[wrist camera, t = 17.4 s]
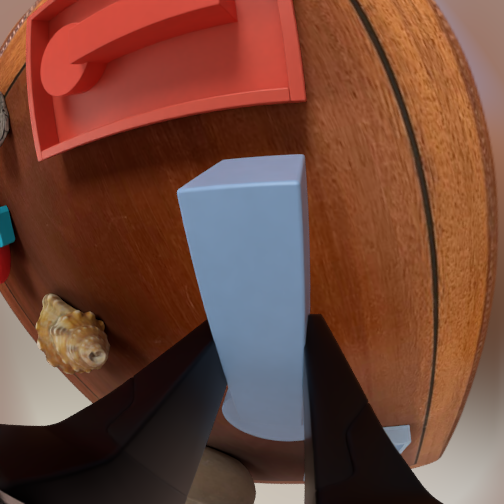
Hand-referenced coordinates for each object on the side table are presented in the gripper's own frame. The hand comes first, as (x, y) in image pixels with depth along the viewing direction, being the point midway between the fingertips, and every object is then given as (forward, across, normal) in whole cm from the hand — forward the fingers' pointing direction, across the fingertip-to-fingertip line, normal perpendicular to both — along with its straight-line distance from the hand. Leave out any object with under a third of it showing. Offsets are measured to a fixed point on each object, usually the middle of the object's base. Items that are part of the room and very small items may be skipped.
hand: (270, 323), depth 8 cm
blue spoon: (+1, 0, +1) cm, 2 cm away
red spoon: (+7, +7, -11) cm, 16 cm away
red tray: (+8, +7, -12) cm, 16 cm away
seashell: (+8, +20, +9) cm, 23 cm away
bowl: (+8, +14, +38) cm, 42 cm away
